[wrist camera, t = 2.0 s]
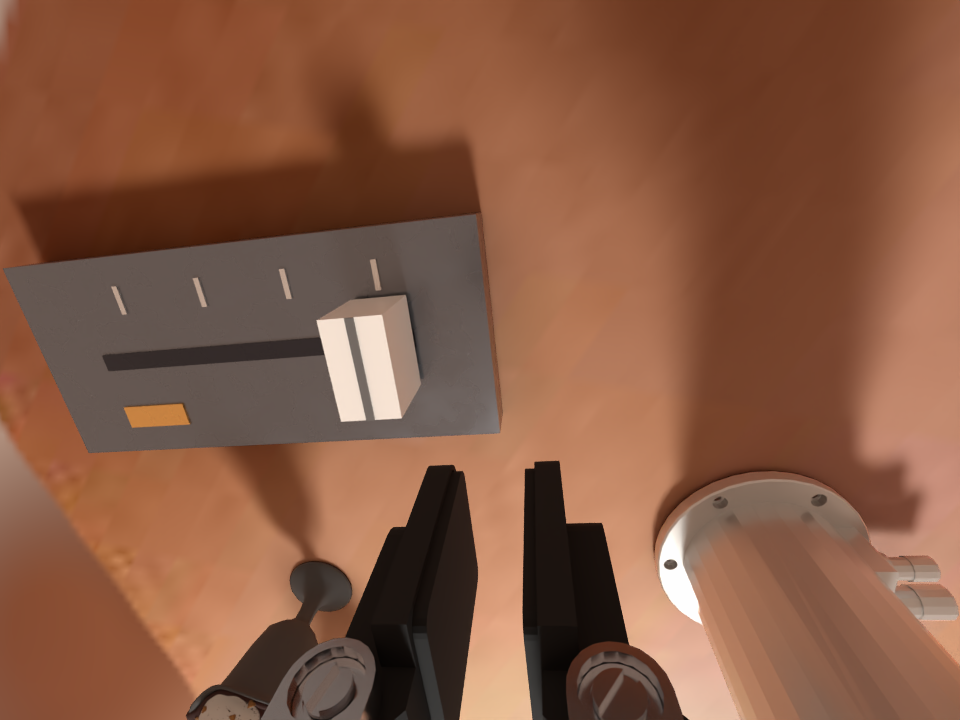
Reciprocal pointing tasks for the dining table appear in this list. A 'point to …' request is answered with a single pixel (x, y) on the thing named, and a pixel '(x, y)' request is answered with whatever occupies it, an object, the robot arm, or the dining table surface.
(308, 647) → the sundae
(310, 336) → the dimmer panel
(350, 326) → the fader
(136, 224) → the dining table surface
